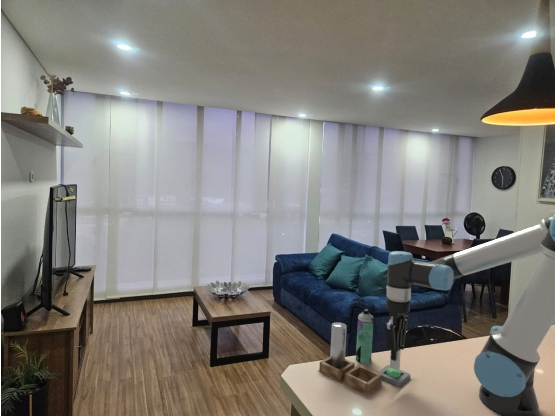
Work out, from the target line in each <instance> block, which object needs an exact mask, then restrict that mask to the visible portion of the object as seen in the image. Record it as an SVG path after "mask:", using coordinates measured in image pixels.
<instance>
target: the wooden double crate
mask: <svg viewBox="0 0 555 416" xmlns="http://www.w3.org/2000/svg"><path fill="white" fill-rule="evenodd" d="M355 365H356V362H353V361H350V360H349V359H347V358H345V367H343V368H342V369H338V368H335V367H333V366H331V365H330V356H328V357H326V358H324V359H323V360H321V361H319V370H317V372H319V373H321V374H322V375H325V376H326V377H329V378H330V379H332V380H335V381H337V382H338V383H341V384H342V385H345V386H347V387H349V388H350V389H353V390H355V391H357V392H358V393H361V394H363V395H364V396H369V395H370V394H372V393H373V392H374V391H376V389H378V388H380V387H381V386H382V385H383V384H384V383H383V382H382V381H383V380H382V375H381V374H379V373H377V372H378V371H377V372H376V371H374V370H371V369H369V368H367V367H366V366H363V365H360V364H357V365H356V366H355Z"/></svg>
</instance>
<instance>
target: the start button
mask: <svg viewBox="0 0 555 416" xmlns="http://www.w3.org/2000/svg"><path fill="white" fill-rule="evenodd" d="M400 370H401V369H399V370H398V371H397V370H395V369H392V368H387V374H386V375H388V376H391V377H393V378H395V379H399V378H400V377H401V376H400V375H401V372H400Z"/></svg>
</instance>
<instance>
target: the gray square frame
mask: <svg viewBox="0 0 555 416" xmlns="http://www.w3.org/2000/svg"><path fill="white" fill-rule="evenodd" d="M387 368H390V364H387V365H386V366H384V367H383V368H382V369H380V370H379V371H377V373H379V374H381V375H382V381H385V382H387V383H389V384H392V385H394V386H396V387H398V388H400V387H402V385H404V384H405V383H406V382H407V381H409V379H410V378H411V373H410V372H407V371H403V370H401V369H399V370H400V372H401V375H400V378H399V379H395V378H393V377H391V376H388V375H386V374H387Z"/></svg>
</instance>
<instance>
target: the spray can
mask: <svg viewBox="0 0 555 416" xmlns="http://www.w3.org/2000/svg"><path fill="white" fill-rule="evenodd" d="M374 319H375V318H374V316H373V315H372V314H371V313H370V310H369V309H368V308H364V309H363V311H362V312H361V313H359V314H358V317H357V332H356V333H357V334H356V347H355V348H356V349H355V350H356V352H355V360H356V362H357V363H360V364H364V365H366V364H367V365H368V364H371V362H372V356H373V355H372V353H373V336H374V334H373V333H374Z"/></svg>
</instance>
